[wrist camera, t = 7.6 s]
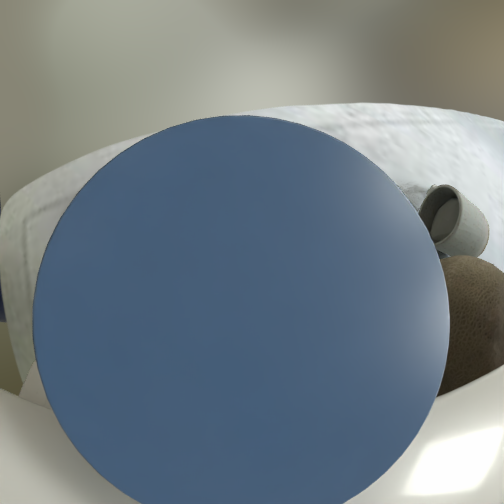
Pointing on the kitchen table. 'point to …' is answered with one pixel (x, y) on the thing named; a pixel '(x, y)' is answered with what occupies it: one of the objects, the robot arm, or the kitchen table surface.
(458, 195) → the ceramic mug
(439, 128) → the kitchen table surface
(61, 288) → the peg
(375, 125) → the kitchen table surface
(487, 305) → the cantaloupe
